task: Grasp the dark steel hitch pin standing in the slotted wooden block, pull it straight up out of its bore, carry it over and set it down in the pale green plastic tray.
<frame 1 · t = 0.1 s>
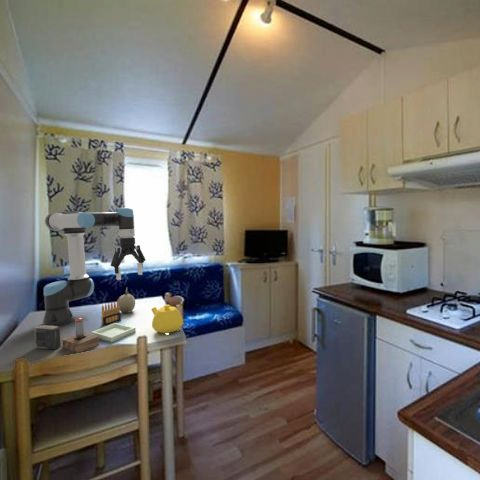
hand: (129, 277, 153), 28 cm above the table, fingers open, 13 cm apart
slotted wooden block: (81, 346, 135), on the table
tray: (113, 334, 147), on the table
fruit: (127, 312, 183), on the table
ammunition clip: (111, 323, 164), on the table
camera: (48, 348, 134), on the table
pin: (79, 332, 134), in the slotted wooden block
teapot: (165, 330, 151), on the table
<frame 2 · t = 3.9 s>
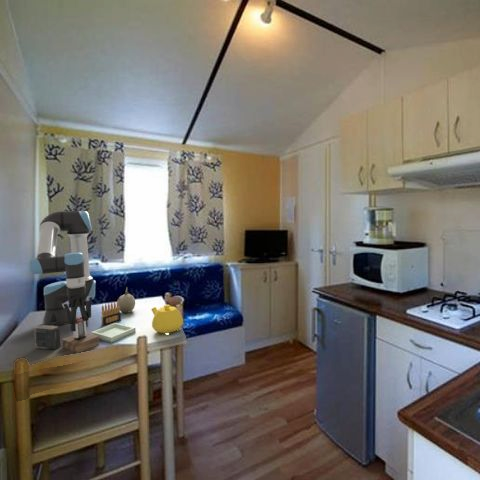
hand: (80, 335, 134), 5 cm above the table, fingers closed on pin, 3 cm apart
pin: (79, 332, 134), in the slotted wooden block, touching gripper
everything else where it was.
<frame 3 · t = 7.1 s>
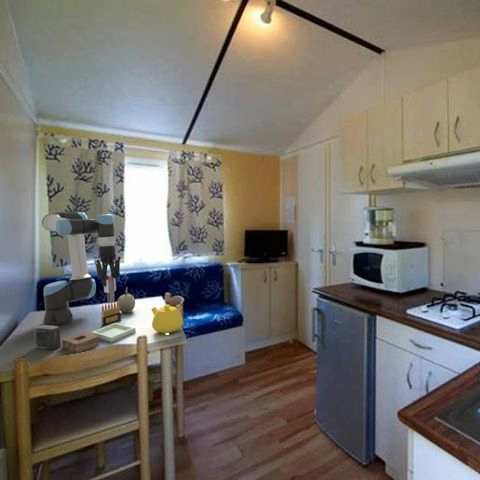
hand: (110, 291, 145), 23 cm above the table, fingers closed on pin, 3 cm apart
pin: (110, 288, 145), point 24 cm above the table, touching gripper
everything else where it was.
when the fingers open (7 cm above the table, at t = 10.7 s): pin stays where it is, resting on tray.
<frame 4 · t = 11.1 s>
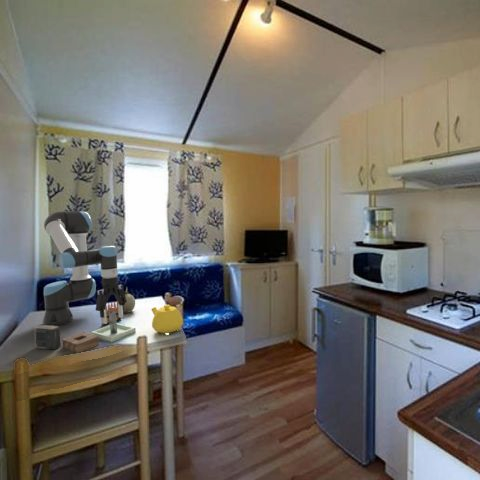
hand: (112, 320, 147), 7 cm above the table, fingers open, 9 cm apart
pin: (112, 320, 147), in the tray, point 7 cm above the table
everything else where it was.
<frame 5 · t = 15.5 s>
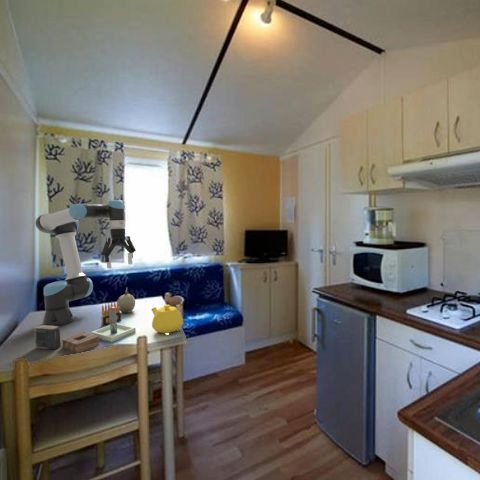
hand: (120, 266, 161), 33 cm above the table, fingers open, 13 cm apart
nothing on the table moved.
at the end: pin inside the target area on the tray (0.0 cm from its centre), point 7.4 cm above the tray's base; pin touching tray; the gripper is holding nothing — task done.
